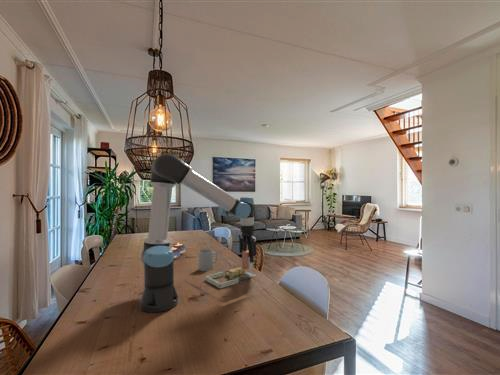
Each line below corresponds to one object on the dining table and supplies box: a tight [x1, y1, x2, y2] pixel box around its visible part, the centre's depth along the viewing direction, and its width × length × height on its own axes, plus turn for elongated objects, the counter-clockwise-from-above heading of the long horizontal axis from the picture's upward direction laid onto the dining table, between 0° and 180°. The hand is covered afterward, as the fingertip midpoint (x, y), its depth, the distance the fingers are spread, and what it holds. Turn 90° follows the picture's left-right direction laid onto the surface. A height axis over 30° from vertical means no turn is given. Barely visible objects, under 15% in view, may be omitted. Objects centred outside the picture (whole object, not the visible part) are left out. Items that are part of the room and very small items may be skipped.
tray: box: [204, 271, 240, 289], centre depth 129 cm, size 11×14×3 cm
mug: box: [198, 248, 219, 272], centre depth 154 cm, size 12×8×11 cm
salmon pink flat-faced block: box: [241, 249, 249, 270], centre depth 140 cm, size 4×4×9 cm
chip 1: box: [228, 268, 239, 280], centre depth 134 cm, size 4×4×4 cm
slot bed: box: [224, 270, 258, 282], centre depth 137 cm, size 14×10×3 cm
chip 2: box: [235, 266, 247, 276], centre depth 136 cm, size 4×4×4 cm
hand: (247, 266), depth 140 cm, fingers closed on salmon pink flat-faced block, 4 cm apart
